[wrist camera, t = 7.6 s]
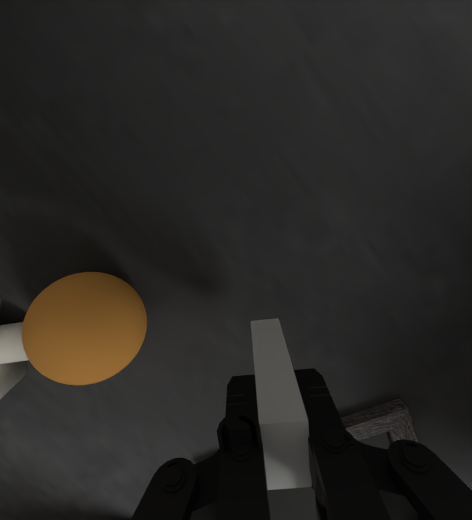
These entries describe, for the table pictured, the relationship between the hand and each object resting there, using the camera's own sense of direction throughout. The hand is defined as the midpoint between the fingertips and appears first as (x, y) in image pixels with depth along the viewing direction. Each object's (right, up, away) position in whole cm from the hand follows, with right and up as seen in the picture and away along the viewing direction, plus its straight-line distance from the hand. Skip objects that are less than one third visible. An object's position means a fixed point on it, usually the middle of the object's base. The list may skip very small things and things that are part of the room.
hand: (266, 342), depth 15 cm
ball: (-10, +1, 0) cm, 10 cm away
